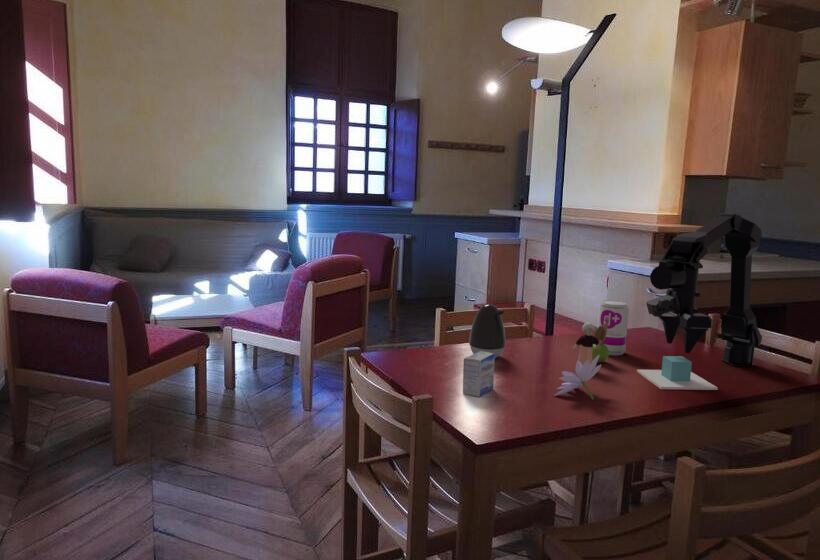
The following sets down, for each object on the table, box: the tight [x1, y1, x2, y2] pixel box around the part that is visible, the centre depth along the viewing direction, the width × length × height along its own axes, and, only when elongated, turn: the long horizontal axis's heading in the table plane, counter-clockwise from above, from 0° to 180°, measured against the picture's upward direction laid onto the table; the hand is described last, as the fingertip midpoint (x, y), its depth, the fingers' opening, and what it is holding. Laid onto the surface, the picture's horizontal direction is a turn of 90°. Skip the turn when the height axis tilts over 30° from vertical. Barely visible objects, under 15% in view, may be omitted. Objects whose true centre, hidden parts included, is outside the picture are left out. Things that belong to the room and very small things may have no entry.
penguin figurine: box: [468, 303, 507, 359], centre depth 168 cm, size 10×10×15 cm
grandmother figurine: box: [572, 321, 601, 366], centre depth 159 cm, size 8×4×13 cm, turn 112°
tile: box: [636, 369, 719, 391], centre depth 152 cm, size 14×14×1 cm
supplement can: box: [597, 299, 630, 357], centre depth 176 cm, size 8×8×15 cm
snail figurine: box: [592, 318, 610, 363], centre depth 166 cm, size 5×6×12 cm
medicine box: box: [462, 351, 496, 398], centre depth 139 cm, size 8×4×9 cm, turn 148°
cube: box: [661, 355, 693, 381], centre depth 151 cm, size 5×5×5 cm
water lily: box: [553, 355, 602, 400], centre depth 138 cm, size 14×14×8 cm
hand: (678, 348), depth 150 cm, fingers open, 9 cm apart
